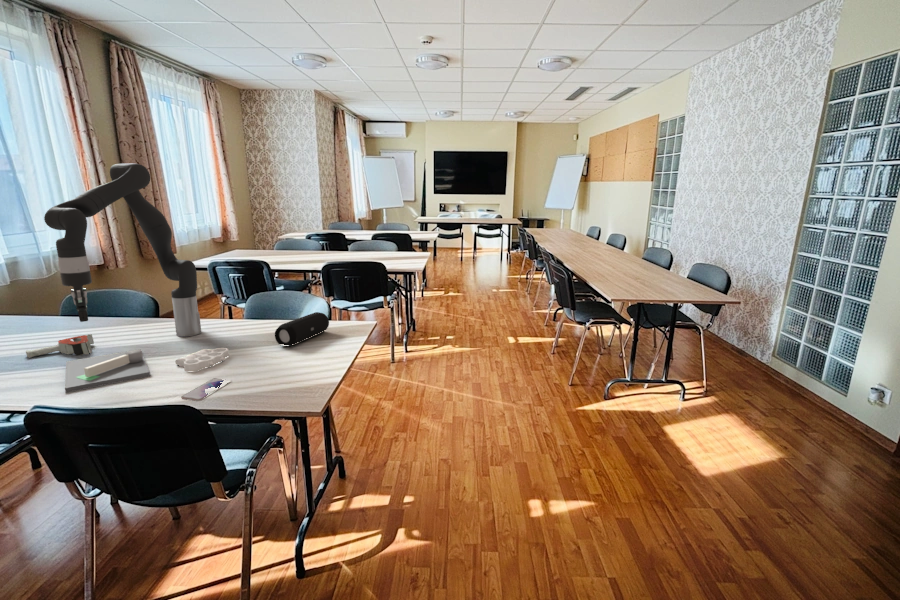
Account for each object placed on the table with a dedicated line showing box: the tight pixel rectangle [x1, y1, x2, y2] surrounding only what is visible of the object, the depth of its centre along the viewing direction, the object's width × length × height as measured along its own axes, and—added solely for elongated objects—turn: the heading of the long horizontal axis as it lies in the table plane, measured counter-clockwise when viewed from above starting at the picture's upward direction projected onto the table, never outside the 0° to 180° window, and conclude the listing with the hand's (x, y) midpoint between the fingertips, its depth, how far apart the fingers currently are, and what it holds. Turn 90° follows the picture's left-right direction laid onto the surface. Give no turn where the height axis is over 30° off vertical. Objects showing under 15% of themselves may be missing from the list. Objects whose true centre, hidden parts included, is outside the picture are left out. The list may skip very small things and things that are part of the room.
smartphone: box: [181, 378, 224, 401], centre depth 141 cm, size 7×1×15 cm
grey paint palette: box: [175, 347, 230, 372], centre depth 162 cm, size 3×18×15 cm
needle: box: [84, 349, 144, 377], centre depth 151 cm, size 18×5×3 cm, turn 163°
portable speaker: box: [274, 311, 330, 345], centre depth 190 cm, size 26×10×10 cm, turn 158°
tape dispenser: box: [25, 333, 95, 359], centre depth 169 cm, size 18×5×20 cm
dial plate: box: [64, 349, 151, 394], centre depth 153 cm, size 22×28×2 cm
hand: (84, 320), depth 146 cm, fingers closed
